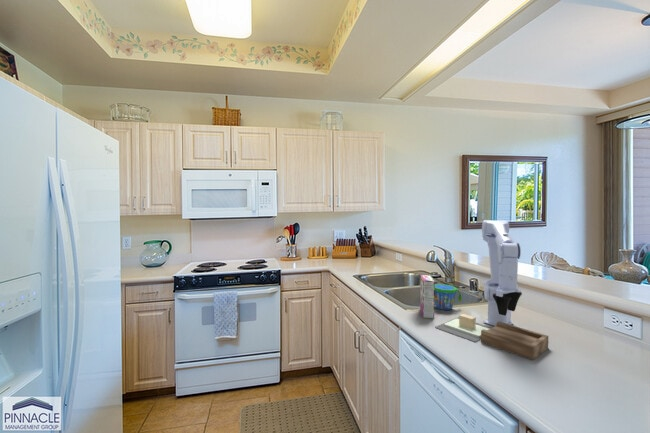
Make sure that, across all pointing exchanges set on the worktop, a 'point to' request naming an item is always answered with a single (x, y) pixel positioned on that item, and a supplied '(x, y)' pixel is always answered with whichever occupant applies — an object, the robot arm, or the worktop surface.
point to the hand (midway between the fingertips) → (506, 312)
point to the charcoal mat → (460, 334)
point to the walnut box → (515, 340)
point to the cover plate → (465, 330)
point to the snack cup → (445, 296)
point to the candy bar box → (427, 296)
